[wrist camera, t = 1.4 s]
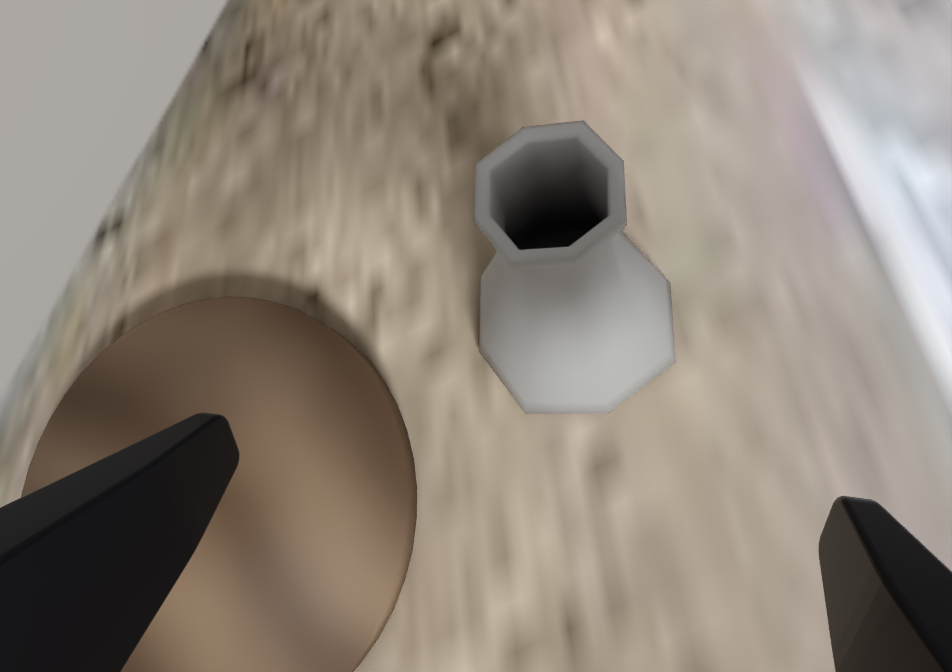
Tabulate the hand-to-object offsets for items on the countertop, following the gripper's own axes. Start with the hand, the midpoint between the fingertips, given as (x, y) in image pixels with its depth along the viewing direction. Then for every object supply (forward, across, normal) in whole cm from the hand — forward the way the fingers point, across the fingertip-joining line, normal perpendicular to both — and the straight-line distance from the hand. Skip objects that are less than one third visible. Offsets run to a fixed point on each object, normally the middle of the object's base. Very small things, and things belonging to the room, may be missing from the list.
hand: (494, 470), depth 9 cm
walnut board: (+6, +13, +10) cm, 18 cm away
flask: (+13, 0, +5) cm, 13 cm away
